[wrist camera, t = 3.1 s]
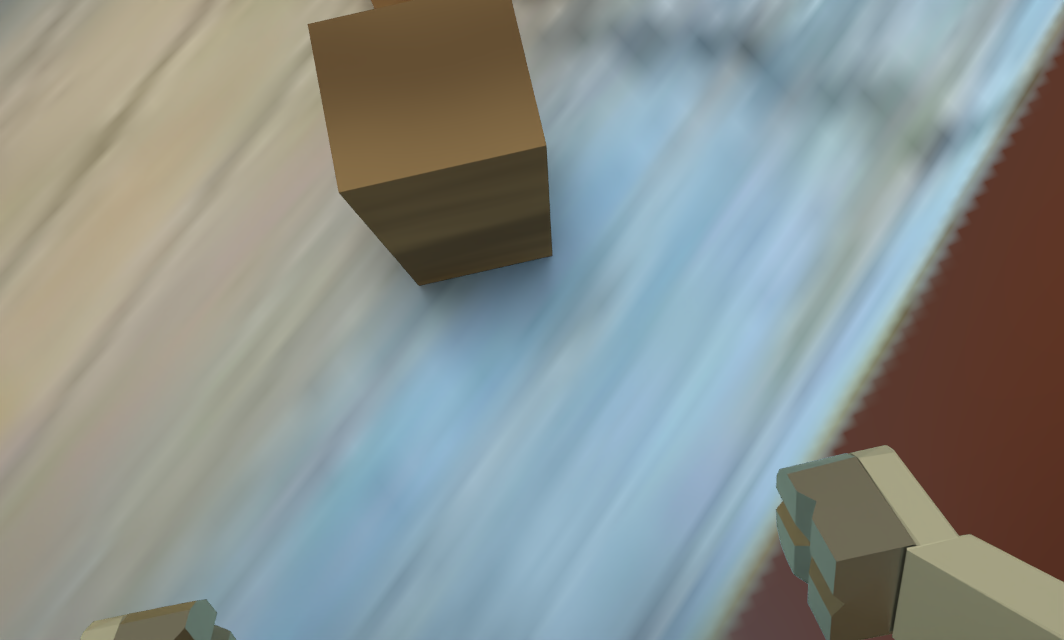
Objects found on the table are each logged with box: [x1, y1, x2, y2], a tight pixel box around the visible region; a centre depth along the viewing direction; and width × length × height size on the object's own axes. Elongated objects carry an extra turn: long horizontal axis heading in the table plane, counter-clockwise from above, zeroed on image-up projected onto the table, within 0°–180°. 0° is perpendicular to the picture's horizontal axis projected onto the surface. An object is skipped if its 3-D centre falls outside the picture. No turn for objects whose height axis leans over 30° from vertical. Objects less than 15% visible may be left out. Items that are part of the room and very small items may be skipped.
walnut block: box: [308, 0, 552, 286], centre depth 21 cm, size 4×4×9 cm
